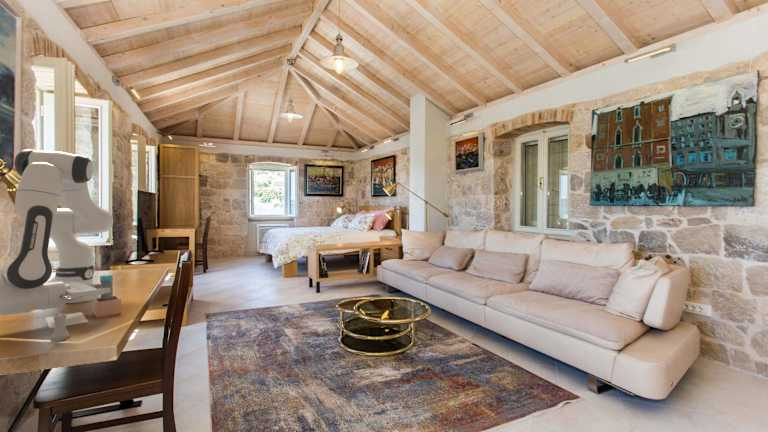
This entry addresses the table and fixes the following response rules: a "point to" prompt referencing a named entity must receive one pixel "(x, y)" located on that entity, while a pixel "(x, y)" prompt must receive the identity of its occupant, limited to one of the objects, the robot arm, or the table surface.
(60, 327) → the rook chess piece
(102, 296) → the marker
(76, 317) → the drawing board
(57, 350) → the table surface
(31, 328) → the table surface
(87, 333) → the table surface
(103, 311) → the pen cup
